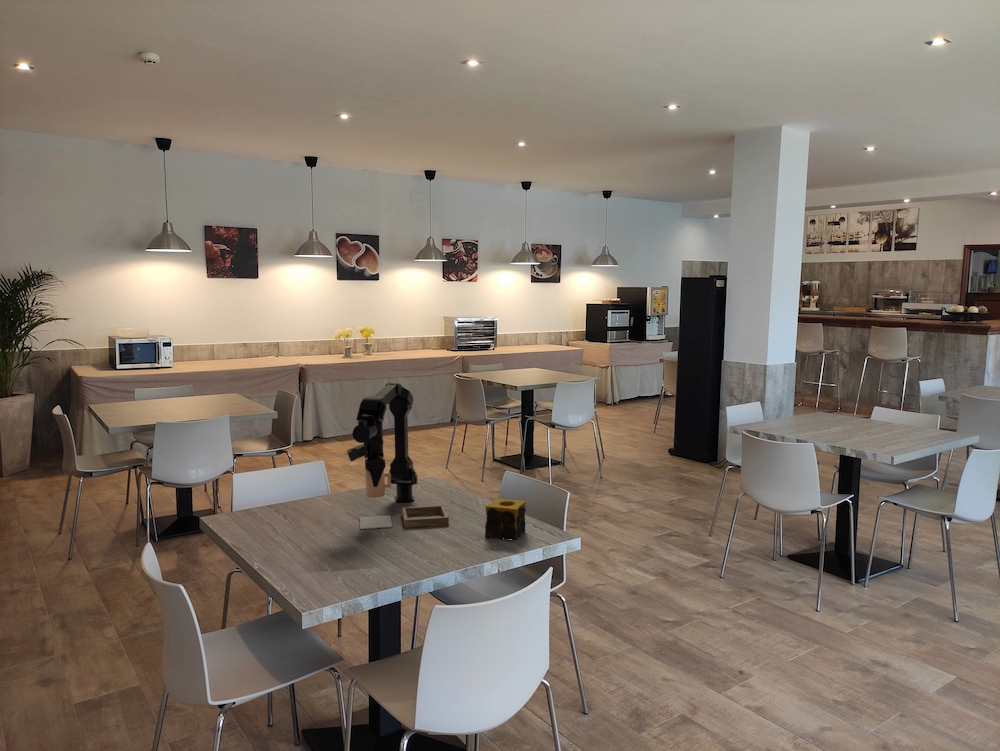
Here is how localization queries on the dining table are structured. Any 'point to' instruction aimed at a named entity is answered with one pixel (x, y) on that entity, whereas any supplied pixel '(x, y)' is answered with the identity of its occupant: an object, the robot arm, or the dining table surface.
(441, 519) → the wooden picture frame
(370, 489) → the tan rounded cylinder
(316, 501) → the dining table surface
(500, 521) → the candle
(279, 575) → the dining table surface
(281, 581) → the dining table surface
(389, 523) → the pad
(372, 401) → the robot arm
